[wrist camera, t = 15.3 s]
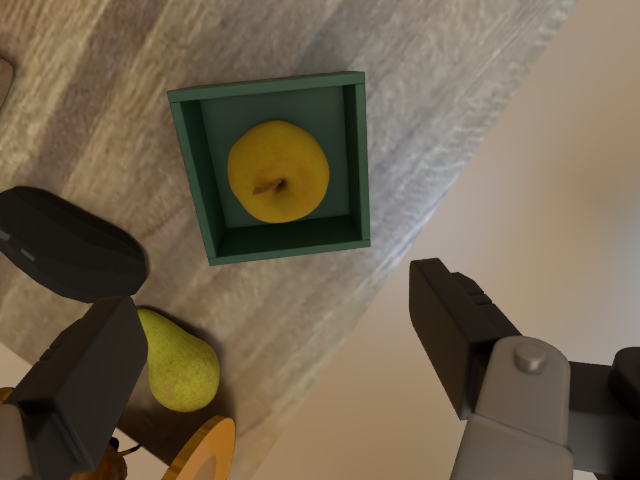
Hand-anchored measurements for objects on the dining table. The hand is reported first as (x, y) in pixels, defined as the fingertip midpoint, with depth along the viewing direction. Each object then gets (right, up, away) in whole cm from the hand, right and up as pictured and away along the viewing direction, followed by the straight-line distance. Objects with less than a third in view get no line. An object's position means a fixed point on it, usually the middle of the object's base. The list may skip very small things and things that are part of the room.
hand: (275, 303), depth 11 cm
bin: (-2, +8, +17) cm, 19 cm away
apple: (-2, +8, +17) cm, 19 cm away
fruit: (-9, -13, +22) cm, 27 cm away
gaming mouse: (-19, +2, +19) cm, 27 cm away
